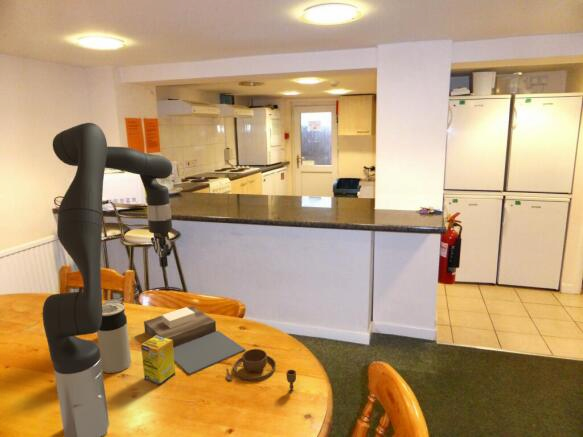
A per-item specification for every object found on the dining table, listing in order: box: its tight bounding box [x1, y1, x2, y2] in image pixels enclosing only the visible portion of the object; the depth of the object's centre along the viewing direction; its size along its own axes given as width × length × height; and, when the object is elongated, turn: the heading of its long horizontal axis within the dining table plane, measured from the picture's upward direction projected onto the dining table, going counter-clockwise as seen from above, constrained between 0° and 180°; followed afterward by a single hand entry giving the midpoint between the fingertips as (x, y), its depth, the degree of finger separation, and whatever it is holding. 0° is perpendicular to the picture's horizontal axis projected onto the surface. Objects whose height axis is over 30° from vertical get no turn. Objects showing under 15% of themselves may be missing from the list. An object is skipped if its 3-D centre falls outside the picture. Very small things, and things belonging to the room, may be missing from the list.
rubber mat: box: [173, 330, 247, 376], centre depth 127 cm, size 16×19×1 cm
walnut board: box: [143, 305, 217, 348], centre depth 138 cm, size 16×18×4 cm
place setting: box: [225, 348, 297, 393], centre depth 113 cm, size 18×20×6 cm
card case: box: [161, 306, 195, 328], centre depth 138 cm, size 6×9×2 cm, turn 131°
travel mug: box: [96, 303, 132, 374], centre depth 118 cm, size 8×8×18 cm
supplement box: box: [140, 335, 176, 386], centre depth 113 cm, size 6×6×11 cm
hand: (163, 266), depth 141 cm, fingers closed
